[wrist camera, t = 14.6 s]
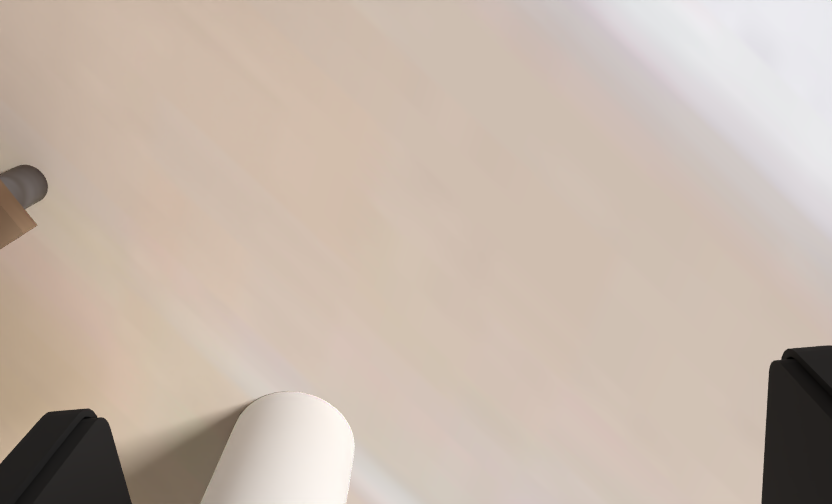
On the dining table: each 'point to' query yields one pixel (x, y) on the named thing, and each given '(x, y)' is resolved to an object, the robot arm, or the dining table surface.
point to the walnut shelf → (19, 200)
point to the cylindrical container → (285, 454)
